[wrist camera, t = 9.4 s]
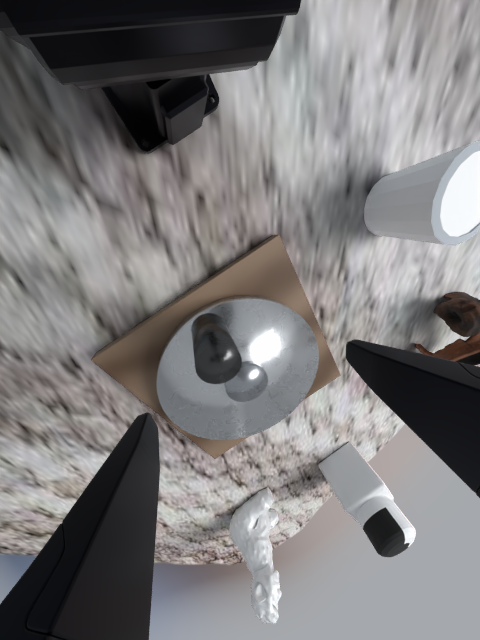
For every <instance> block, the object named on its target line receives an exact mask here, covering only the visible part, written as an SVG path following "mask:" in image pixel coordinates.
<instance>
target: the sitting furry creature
mask: <svg viewBox="0 0 480 640" xmlns="http://www.w3.org/2000/svg"><path fill="white" fill-rule="evenodd" d="M273 501H274V498H273V495H272V493H271V491H270V489H269V488H268V487H267V488H264V489H262V490H261V491H258V493H257V494H255V495H254V496H253V497H251V498H250V499H249V500H248V501H246V502H245V503H244V504H243V505H242V506H240V507H239V508H238V509H236V510H235V512H234V514H233V516H232V519H231V520H230V527H229V530H230V534H229V535H230V536H231V540H232V541H233V543H234V544H235V546H237V547H238V550H240V551H241V552H242V555H243V557H244V558H245V561H246V564H247V568H248V570H250V571H251V573H252V575H254V576H253V579H252V584H251V589H252V595H251V602H252V607H253V609H254V612H255V614H256V616H257V617H259V618H260V620H261V621H262V622H263V623H264V622H265V623H269V622H271V623H272V624H275V623H276V622H277V619H278V618H279V615H278V600H279V599H280V597H281V591H280V590H279V588H280V584H279V573H278V572H277V570H273V568H274V567H273V560H272V546H271V542H270V538H269V530H271V529H273V528H274V526H275V525H276V524H277V522H278V514H277V512H276V510H273V509H270V507H271V505H272V503H273Z"/></svg>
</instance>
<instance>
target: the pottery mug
mask: <svg viewBox="0 0 480 640" xmlns="http://www.w3.org/2000/svg"><path fill="white" fill-rule="evenodd" d="M444 297H445V298H446V299H449V301H445V302H442V303H440V304H439V305H438V306H437V307H436V308H435V310H434V313H436V314H437V315H438V316H439V317H440V318H442V319H443V320H444V321H445V323H446V324H447V325H448V326H449V327H450V329H451V330H452V331H453V332H455V333H457V334H459V335H461V336H463V337H468V336H470V337H469V338H468V339H467V340H466V341H464V340H462V339H458V340H456V341H455V342H454V343H452V344H449V345H447V346H445V348H444V349H441V350H438V351H437V352H435V353H432V352H429V351H428V350H426V349H425V348H424V347H423V346H422V345H421V344H416V348H417V349H419V351H420V352H421V353H423V355H428V356H432V357H437V358H441V359H446V360H450V361H455V362H457V363H464V364H468V365H473V366H474V365H478V364H480V300H478V299H477V298H474V297H472V296H470V295H468V294H467V293H464V292H455V293H450V294H447V295H445V296H444Z"/></svg>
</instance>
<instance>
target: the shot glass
mask: <svg viewBox="0 0 480 640" xmlns="http://www.w3.org/2000/svg"><path fill="white" fill-rule="evenodd" d="M364 221H365V224H366V226H367V228H368V230H369V231H370V232H372V233H373V234H374V235H379V236H386V237H394V238H401V239H408V240H415V241H423V242H430V243H437V244H445V245H457V244H460V243H462V242H464V241H467V240H469V239H470V238H471V237H472V236H473V235H475V234H476V233H477V232H478V231H479V230H480V140H478V141H475V142H473V143H470V144H468V145H465V146H462V147H460V148H457V149H455V150H452V151H449V152H447V153H444V154H442V155H439V156H436V157H434V158H431V159H429V160H426V161H423V162H421V163H418V164H416V165H413V166H410V167H408V168H405V169H403V170H400V171H397V172H395V173H392V174H390V175H387V176H384V177H382V178H381V179H380V180H379V181H378V182H377V183H376V184H375V185H374V186H373V188H372V189H371V191H370V193H369V195H368V196H367V199H366V203H365V207H364Z"/></svg>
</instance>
